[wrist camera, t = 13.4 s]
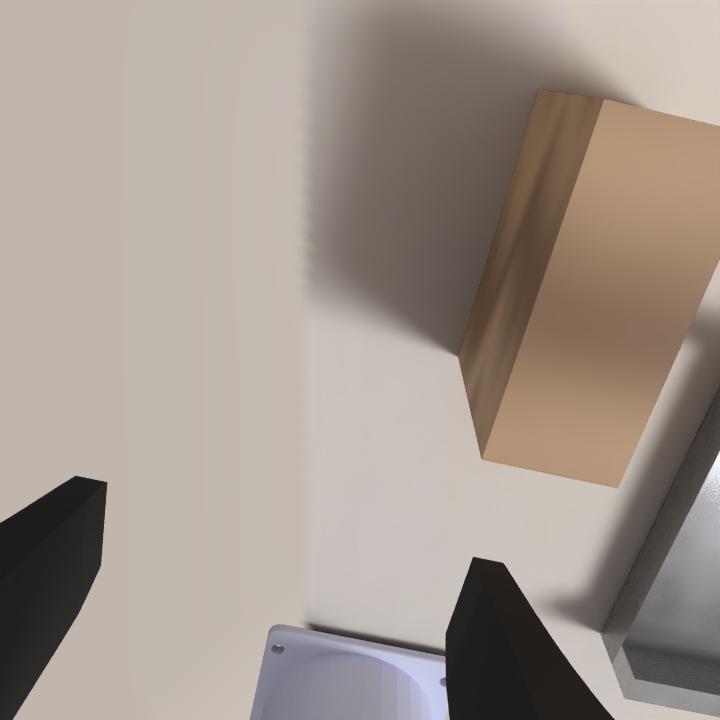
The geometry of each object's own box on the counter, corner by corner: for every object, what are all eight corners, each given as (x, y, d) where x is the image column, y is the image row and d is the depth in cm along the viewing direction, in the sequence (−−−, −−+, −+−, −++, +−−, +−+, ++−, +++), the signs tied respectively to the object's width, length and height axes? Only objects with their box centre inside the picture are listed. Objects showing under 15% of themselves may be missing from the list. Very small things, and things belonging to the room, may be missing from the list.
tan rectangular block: (558, 378, 23) (617, 488, 17) (457, 356, 23) (481, 459, 17) (656, 117, 19) (773, 139, 13) (538, 89, 19) (604, 99, 13)
